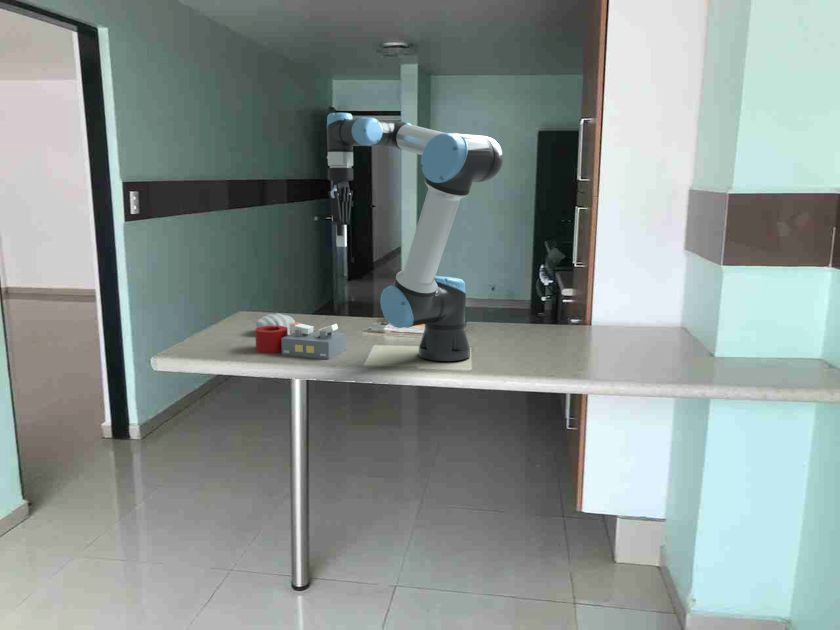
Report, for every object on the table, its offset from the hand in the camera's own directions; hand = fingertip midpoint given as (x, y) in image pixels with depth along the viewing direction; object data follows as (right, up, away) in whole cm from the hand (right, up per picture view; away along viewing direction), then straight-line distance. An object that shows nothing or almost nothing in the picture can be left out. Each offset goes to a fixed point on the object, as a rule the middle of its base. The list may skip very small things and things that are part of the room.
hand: (341, 246), depth 205 cm
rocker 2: (-4, -25, -8) cm, 27 cm away
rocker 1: (-11, -25, -5) cm, 28 cm away
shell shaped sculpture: (-24, -28, +18) cm, 41 cm away
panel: (-7, -32, -5) cm, 33 cm away
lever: (-19, -31, +1) cm, 36 cm away
